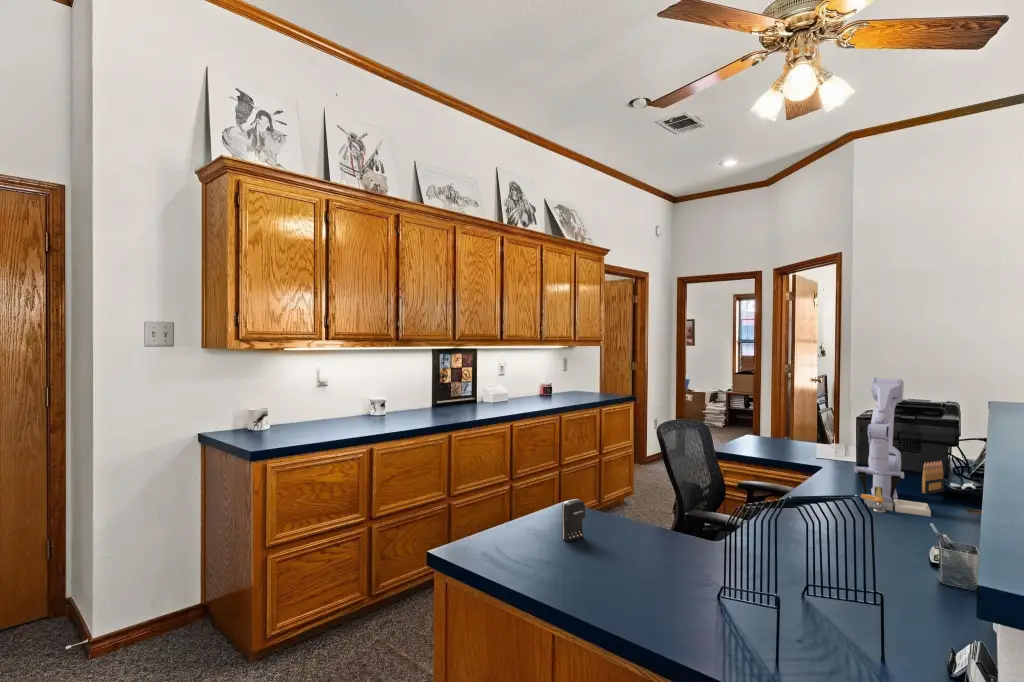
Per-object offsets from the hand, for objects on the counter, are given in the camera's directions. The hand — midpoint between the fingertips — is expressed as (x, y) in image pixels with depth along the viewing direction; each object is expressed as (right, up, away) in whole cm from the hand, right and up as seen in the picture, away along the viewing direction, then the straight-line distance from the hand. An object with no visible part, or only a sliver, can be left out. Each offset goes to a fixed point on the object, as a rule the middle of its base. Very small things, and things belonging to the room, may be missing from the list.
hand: (878, 495), depth 192 cm
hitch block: (-1, -4, -2) cm, 4 cm away
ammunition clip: (+32, -4, +16) cm, 36 cm away
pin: (0, -4, 0) cm, 4 cm away
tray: (+8, -4, -5) cm, 10 cm away
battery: (-111, -5, -31) cm, 116 cm away
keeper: (-5, 0, -4) cm, 7 cm away
